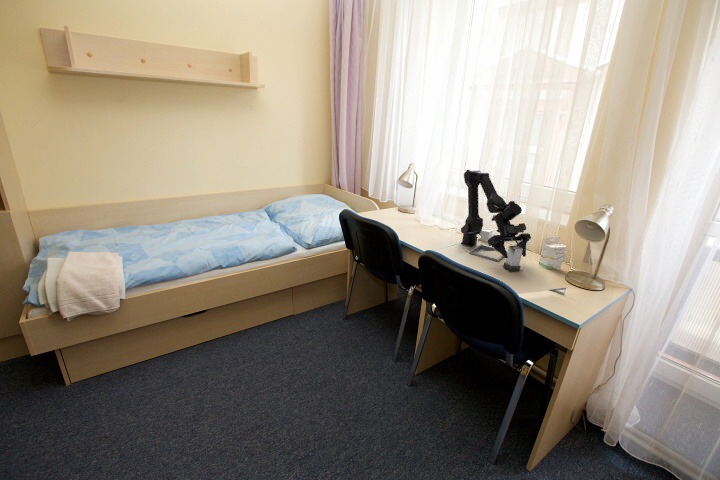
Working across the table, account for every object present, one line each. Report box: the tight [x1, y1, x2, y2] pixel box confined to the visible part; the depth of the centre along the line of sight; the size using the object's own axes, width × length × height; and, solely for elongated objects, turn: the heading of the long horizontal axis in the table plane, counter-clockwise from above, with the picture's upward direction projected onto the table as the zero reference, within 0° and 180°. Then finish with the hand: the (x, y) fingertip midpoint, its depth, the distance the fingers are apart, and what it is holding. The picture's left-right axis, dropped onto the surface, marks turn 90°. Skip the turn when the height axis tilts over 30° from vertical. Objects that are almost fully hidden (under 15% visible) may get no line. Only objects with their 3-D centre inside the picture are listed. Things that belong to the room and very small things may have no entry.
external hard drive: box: [548, 287, 567, 295], centre depth 138 cm, size 2×8×12 cm
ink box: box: [538, 236, 568, 271], centre depth 151 cm, size 9×5×15 cm, turn 105°
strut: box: [503, 244, 523, 271], centre depth 147 cm, size 5×5×10 cm
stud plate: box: [500, 264, 524, 273], centre depth 149 cm, size 7×7×2 cm
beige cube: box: [479, 228, 494, 243], centre depth 187 cm, size 6×6×6 cm
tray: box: [468, 244, 508, 263], centre depth 164 cm, size 14×14×2 cm
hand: (515, 257), depth 146 cm, fingers open, 9 cm apart
